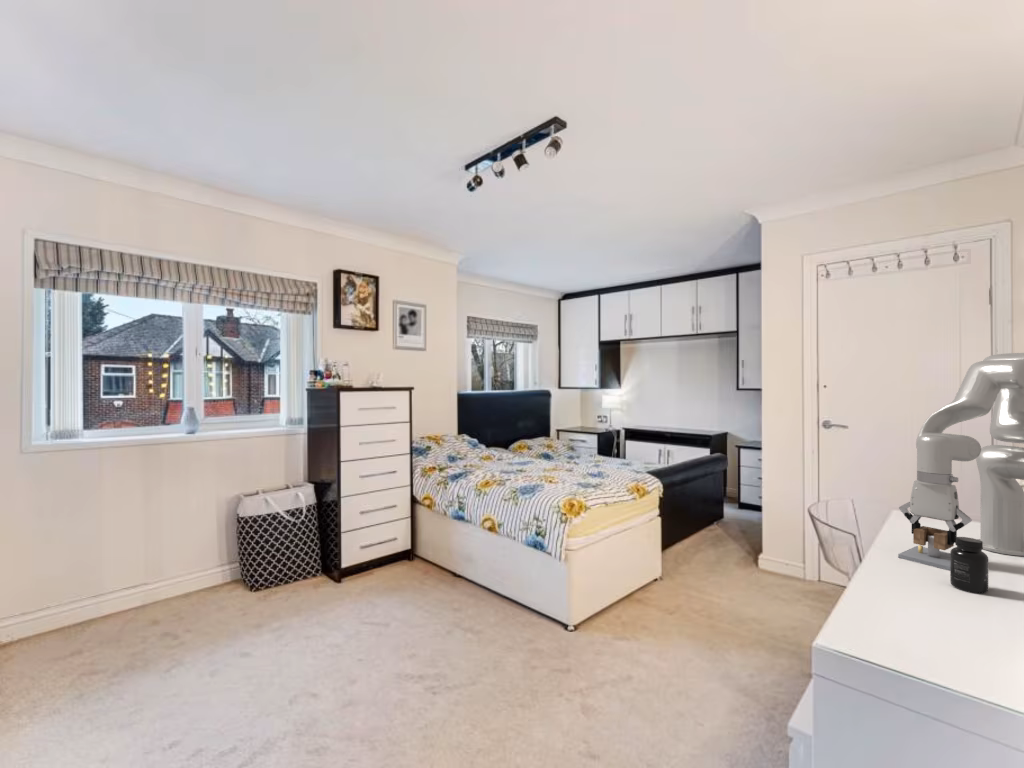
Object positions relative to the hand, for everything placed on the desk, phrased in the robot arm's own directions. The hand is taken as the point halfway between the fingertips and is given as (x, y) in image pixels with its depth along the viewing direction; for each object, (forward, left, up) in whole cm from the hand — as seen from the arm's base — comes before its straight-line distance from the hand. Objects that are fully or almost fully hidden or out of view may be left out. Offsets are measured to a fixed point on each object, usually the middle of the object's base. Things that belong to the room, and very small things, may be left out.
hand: (933, 540), depth 138 cm
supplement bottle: (+18, +12, -6) cm, 22 cm away
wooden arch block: (0, 0, -1) cm, 1 cm away
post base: (0, 0, -5) cm, 5 cm away
